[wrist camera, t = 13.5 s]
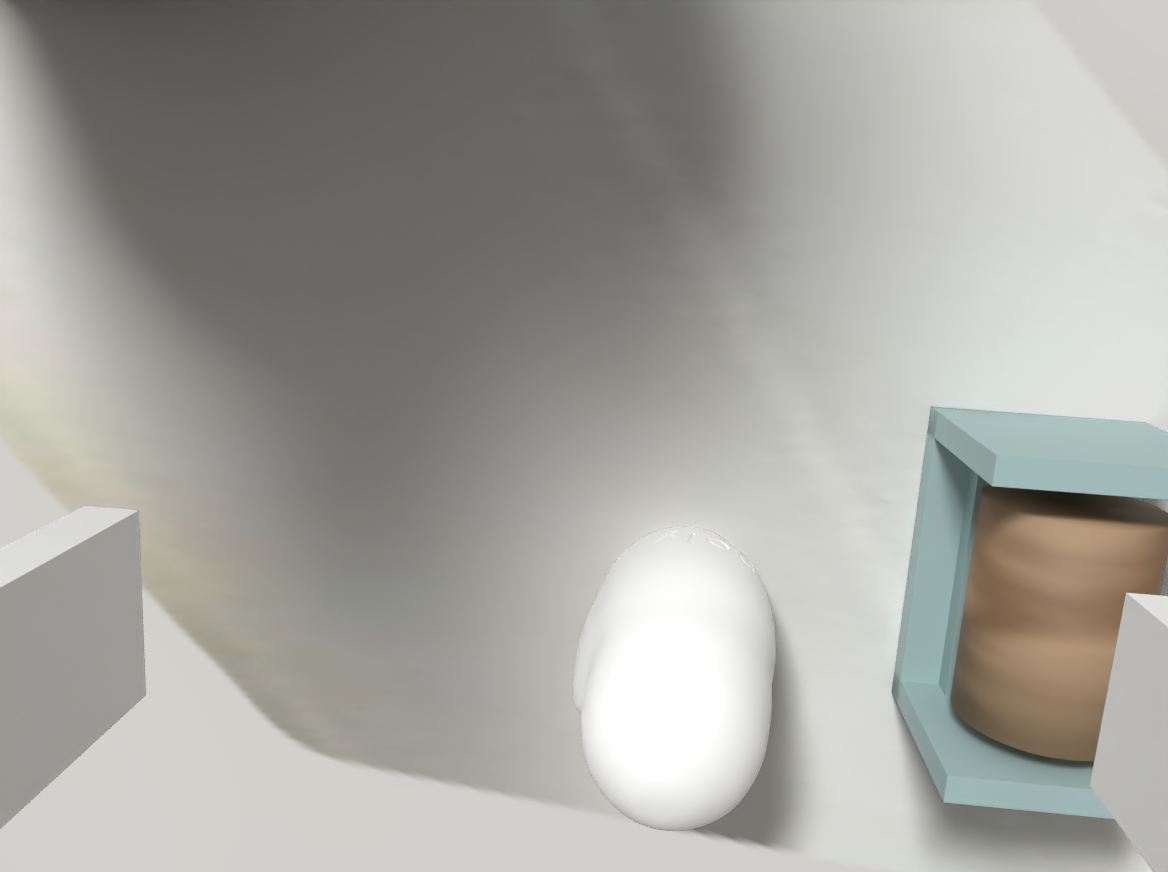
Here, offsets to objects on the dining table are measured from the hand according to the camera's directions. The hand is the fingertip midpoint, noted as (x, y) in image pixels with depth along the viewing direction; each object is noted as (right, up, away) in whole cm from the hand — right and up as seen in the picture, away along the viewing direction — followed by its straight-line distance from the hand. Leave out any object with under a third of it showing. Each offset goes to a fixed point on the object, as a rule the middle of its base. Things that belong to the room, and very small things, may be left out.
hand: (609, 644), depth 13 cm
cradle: (+17, -2, +26) cm, 31 cm away
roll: (+16, -3, +22) cm, 28 cm away
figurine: (+4, -4, +28) cm, 29 cm away
